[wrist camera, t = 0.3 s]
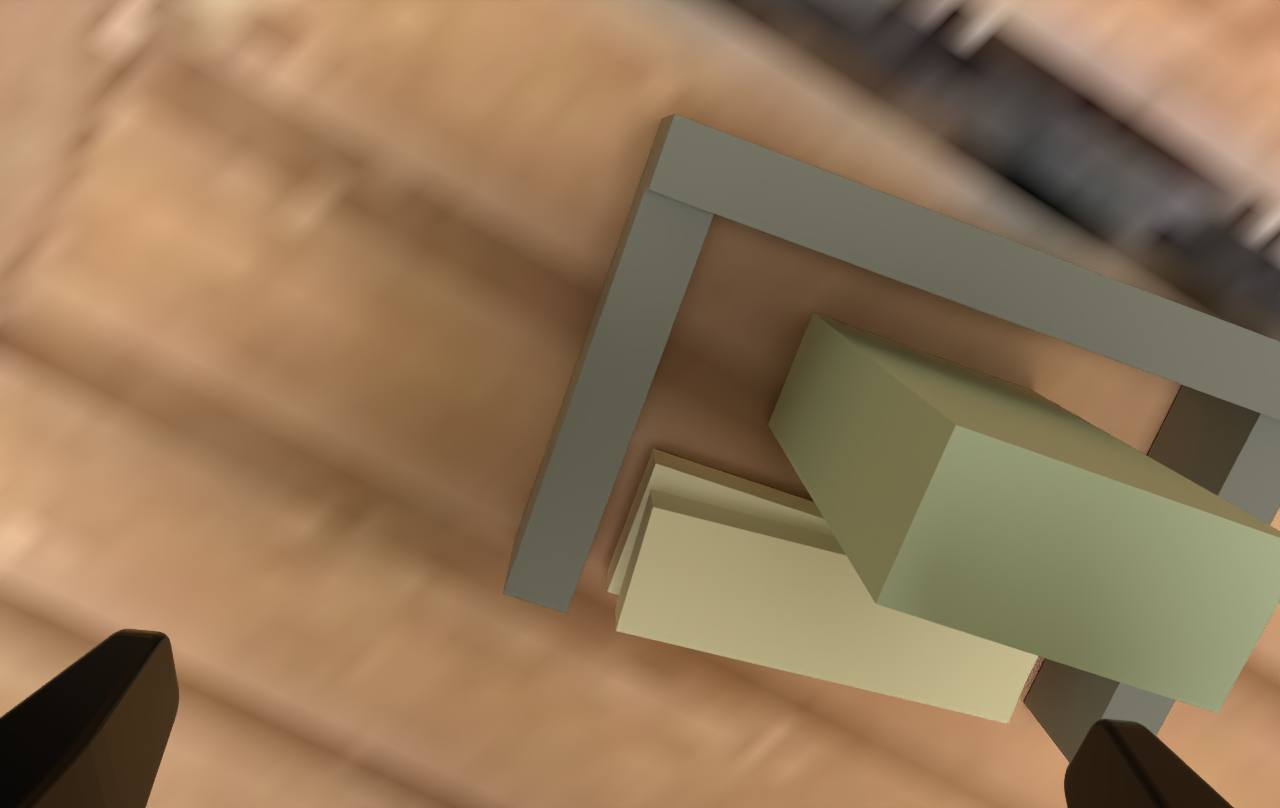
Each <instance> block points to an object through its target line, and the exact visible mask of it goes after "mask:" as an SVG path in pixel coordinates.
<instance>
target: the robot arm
mask: <svg viewBox="0 0 1280 808" xmlns="http://www.w3.org/2000/svg"><path fill="white" fill-rule="evenodd" d="M178 704H179V687H178V682H177V676H176V670H175V664H174V659H173V653H172V647H171V643H170V640H169V638H168V637H167V635H166V634H164V633H162V632H157V631H147V630H136V629H123V630H120V631H118V632H115V633H114V634H112V635H111V636H109V637H108V638H107V639H105V640H104V641H103V642H101V643H100V644H98V645H97V646H96V647H94V648H93V649H92V650H90V651H89V652H88V653H86V654H85V655H84V656H82V657H81V658H80V659H78V660H77V661H76V662H74V663H73V664H72V665H70V666H69V667H68V668H66V669H65V670H64V671H62V672H61V673H60V674H58V675H57V676H56V677H54V678H53V679H52V680H50V681H49V682H48V683H46V684H45V685H43V686H42V687H41V688H39V689H38V690H37V691H35V692H34V693H33V694H31V695H30V696H29V697H27V698H26V699H25V700H23V701H22V702H21V703H19V704H18V705H17V706H15V707H14V708H13V709H11V710H10V711H9V712H7V713H6V714H5V715H3V716H2V717H1V718H0V808H146V805H147V802H148V799H149V796H150V793H151V790H152V787H153V784H154V781H155V778H156V775H157V772H158V769H159V766H160V763H161V760H162V757H163V754H164V751H165V748H166V745H167V742H168V739H169V736H170V733H171V730H172V727H173V724H174V721H175V717H176V714H177V709H178ZM1064 791H1065V797H1066V802H1067V807H1068V808H1234V807H1232V806H1231V805H1230V804H1229V803H1228V802H1227V801H1226V800H1225V799H1224V798H1223V797H1222V796H1221V795H1219V794H1218V793H1217V792H1216V791H1215V790H1214V789H1213V788H1212V787H1211V786H1210V785H1209V784H1208V783H1206V782H1205V781H1204V780H1203V779H1202V778H1201V777H1200V776H1199V775H1198V774H1197V773H1196V772H1194V771H1193V770H1192V769H1191V768H1190V767H1189V766H1188V765H1187V764H1186V763H1185V762H1184V761H1183V760H1181V759H1180V758H1179V757H1178V756H1177V755H1176V754H1175V753H1174V752H1173V751H1172V750H1171V749H1170V748H1168V747H1167V746H1166V745H1165V744H1164V743H1163V742H1162V741H1161V740H1160V739H1159V738H1158V737H1157V736H1155V735H1154V734H1153V733H1152V732H1151V731H1150V730H1149V729H1148V728H1146V727H1145V726H1144V725H1142V724H1140V723H1138V722H1134V721H1127V720H1116V719H1105V718H1104V719H1099V720H1097V721H1096V722H1094V723H1093V724H1092V725H1091V727H1090V728H1089V730H1088V732H1087V734H1086V735H1085V737H1084V739H1083V741H1082V742H1081V744H1080V746H1079V748H1078V749H1077V751H1076V753H1075V755H1074V756H1073V758H1072V760H1071V762H1070V763H1069V765H1068V767H1067V770H1066V774H1065V779H1064Z"/></svg>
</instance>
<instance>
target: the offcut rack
mask: <svg viewBox="0 0 1280 808" xmlns="http://www.w3.org/2000/svg"><path fill="white" fill-rule="evenodd" d="M714 214H717V215H719V216H722V217H725V218H727V219H730V220H733V221H736V222H738V223H741V224H744V225H747V226H749V227H752V228H755V229H758V230H760V231H763V232H766V233H768V234H771V235H774V236H777V237H779V238H782V239H785V240H788V241H790V242H793V243H796V244H799V245H801V246H804V247H807V248H810V249H812V250H815V251H818V252H820V253H823V254H826V255H829V256H831V257H834V258H837V259H840V260H842V261H845V262H848V263H851V264H853V265H856V266H859V267H862V268H864V269H867V270H870V271H872V272H875V273H878V274H881V275H883V276H886V277H889V278H892V279H894V280H897V281H900V282H903V283H905V284H908V285H911V286H914V287H916V288H919V289H922V290H924V291H927V292H930V293H933V294H935V295H938V296H941V297H944V298H946V299H949V300H952V301H955V302H957V303H960V304H963V305H966V306H968V307H971V308H974V309H976V310H979V311H982V312H985V313H987V314H990V315H993V316H996V317H998V318H1001V319H1004V320H1007V321H1009V322H1012V323H1015V324H1017V325H1020V326H1023V327H1026V328H1028V329H1031V330H1034V331H1037V332H1039V333H1042V334H1045V335H1048V336H1050V337H1053V338H1056V339H1059V340H1061V341H1064V342H1067V343H1069V344H1072V345H1075V346H1078V347H1080V348H1083V349H1086V350H1089V351H1091V352H1094V353H1097V354H1100V355H1102V356H1105V357H1108V358H1111V359H1113V360H1116V361H1119V362H1121V363H1124V364H1127V365H1130V366H1132V367H1135V368H1138V369H1141V370H1143V371H1146V372H1149V373H1152V374H1154V375H1157V376H1160V377H1163V378H1165V379H1168V380H1171V381H1173V382H1176V383H1179V384H1182V387H1181V389H1180V391H1179V393H1178V395H1177V397H1176V399H1175V401H1174V403H1173V405H1172V407H1171V409H1170V411H1169V413H1168V415H1167V417H1166V419H1165V421H1164V423H1163V425H1162V427H1161V429H1160V431H1159V433H1158V435H1157V437H1156V439H1155V441H1154V443H1153V445H1152V447H1151V449H1150V451H1149V453H1148V455H1147V456H1148V457H1150V458H1152V459H1154V460H1155V461H1157V462H1159V463H1161V464H1162V465H1164V466H1166V467H1168V468H1169V469H1171V470H1173V471H1175V472H1176V473H1178V474H1180V475H1182V476H1183V477H1185V478H1187V479H1189V480H1190V481H1192V482H1194V483H1196V484H1197V485H1199V486H1201V487H1203V488H1205V489H1206V490H1208V491H1210V492H1212V493H1213V494H1215V495H1217V496H1219V497H1220V498H1222V499H1224V500H1226V501H1227V502H1229V503H1231V504H1233V505H1234V506H1236V507H1238V508H1240V509H1241V510H1243V511H1245V512H1247V513H1248V514H1250V515H1252V516H1254V517H1256V518H1257V519H1259V520H1261V521H1263V522H1264V523H1266V524H1268V525H1270V524H1271V522H1272V521H1273V519H1274V517H1275V515H1276V513H1277V511H1278V509H1279V508H1280V342H1279V341H1277V340H1274V339H1271V338H1269V337H1266V336H1264V335H1261V334H1258V333H1256V332H1253V331H1250V330H1248V329H1245V328H1242V327H1240V326H1237V325H1234V324H1232V323H1229V322H1226V321H1224V320H1221V319H1218V318H1216V317H1213V316H1210V315H1208V314H1205V313H1202V312H1200V311H1197V310H1194V309H1192V308H1189V307H1187V306H1184V305H1181V304H1179V303H1176V302H1173V301H1171V300H1168V299H1165V298H1163V297H1160V296H1157V295H1155V294H1152V293H1149V292H1147V291H1144V290H1141V289H1139V288H1136V287H1133V286H1131V285H1128V284H1125V283H1123V282H1120V281H1117V280H1115V279H1112V278H1110V277H1107V276H1104V275H1102V274H1099V273H1096V272H1094V271H1091V270H1088V269H1086V268H1083V267H1080V266H1078V265H1075V264H1072V263H1070V262H1067V261H1064V260H1062V259H1059V258H1056V257H1054V256H1051V255H1048V254H1046V253H1043V252H1040V251H1038V250H1035V249H1033V248H1030V247H1027V246H1025V245H1022V244H1019V243H1017V242H1014V241H1011V240H1009V239H1006V238H1003V237H1001V236H998V235H995V234H993V233H990V232H987V231H985V230H982V229H979V228H977V227H974V226H971V225H969V224H966V223H963V222H961V221H958V220H956V219H953V218H950V217H948V216H945V215H942V214H940V213H937V212H934V211H932V210H929V209H926V208H924V207H921V206H918V205H916V204H913V203H910V202H908V201H905V200H902V199H900V198H897V197H894V196H892V195H889V194H886V193H884V192H881V191H879V190H876V189H873V188H871V187H868V186H865V185H863V184H860V183H857V182H855V181H852V180H849V179H847V178H844V177H841V176H839V175H836V174H833V173H831V172H828V171H825V170H823V169H820V168H817V167H815V166H812V165H809V164H807V163H804V162H802V161H799V160H796V159H794V158H791V157H788V156H786V155H783V154H780V153H778V152H775V151H772V150H770V149H767V148H764V147H762V146H759V145H756V144H754V143H751V142H748V141H746V140H743V139H740V138H738V137H735V136H732V135H730V134H727V133H725V132H722V131H719V130H717V129H714V128H711V127H709V126H706V125H703V124H701V123H698V122H695V121H693V120H690V119H687V118H685V117H682V116H679V115H677V114H674V115H671V116H668V117H666V118H663V119H662V121H661V124H660V126H659V129H658V132H657V135H656V138H655V141H654V144H653V146H652V149H651V152H650V155H649V158H648V161H647V164H646V166H645V169H644V172H643V175H642V178H641V181H640V184H639V186H638V189H637V192H636V195H635V198H634V201H633V204H632V206H631V209H630V212H629V215H628V218H627V221H626V224H625V226H624V229H623V232H622V235H621V238H620V241H619V244H618V246H617V249H616V252H615V255H614V258H613V261H612V264H611V266H610V269H609V272H608V275H607V278H606V281H605V284H604V286H603V289H602V292H601V295H600V298H599V301H598V304H597V306H596V309H595V312H594V315H593V318H592V321H591V324H590V326H589V329H588V332H587V335H586V338H585V341H584V344H583V346H582V349H581V352H580V355H579V358H578V361H577V364H576V366H575V369H574V372H573V375H572V378H571V381H570V384H569V386H568V389H567V392H566V395H565V398H564V401H563V404H562V406H561V409H560V412H559V415H558V418H557V421H556V424H555V426H554V429H553V432H552V435H551V438H550V441H549V444H548V446H547V449H546V452H545V455H544V458H543V461H542V464H541V466H540V469H539V472H538V475H537V478H536V481H535V484H534V486H533V489H532V492H531V495H530V498H529V501H528V504H527V506H526V509H525V512H524V515H523V518H522V521H521V524H520V526H519V529H518V532H517V535H516V538H515V541H514V544H513V549H512V554H511V559H510V563H509V568H508V573H507V578H506V582H505V587H504V592H503V594H505V595H508V596H511V597H515V598H518V599H521V600H524V601H528V602H531V603H534V604H537V605H541V606H544V607H547V608H550V609H554V610H557V611H560V612H563V613H567V610H568V608H569V605H570V602H571V599H572V597H573V594H574V591H575V589H576V586H577V583H578V580H579V578H580V575H581V572H582V570H583V567H584V564H585V562H586V559H587V556H588V553H589V551H590V548H591V545H592V543H593V540H594V537H595V535H596V532H597V529H598V526H599V524H600V521H601V518H602V516H603V513H604V510H605V507H606V505H607V502H608V499H609V497H610V494H611V491H612V489H613V486H614V483H615V480H616V478H617V475H618V472H619V470H620V467H621V464H622V462H623V459H624V456H625V453H626V451H627V448H628V445H629V443H630V440H631V437H632V435H633V432H634V429H635V426H636V424H637V421H638V418H639V416H640V413H641V410H642V407H643V405H644V402H645V399H646V397H647V394H648V391H649V389H650V386H651V383H652V380H653V378H654V375H655V372H656V370H657V367H658V364H659V362H660V359H661V356H662V353H663V351H664V348H665V345H666V343H667V340H668V337H669V334H670V332H671V329H672V326H673V324H674V321H675V318H676V316H677V313H678V310H679V307H680V305H681V302H682V299H683V297H684V294H685V291H686V289H687V286H688V283H689V280H690V278H691V275H692V272H693V270H694V267H695V264H696V262H697V259H698V256H699V253H700V251H701V248H702V245H703V243H704V240H705V237H706V234H707V232H708V229H709V226H710V224H711V221H712V218H713V216H714ZM607 592H609V593H612V594H616V595H619V596H618V600H617V603H616V606H615V621H616V631H618V632H623V633H627V634H631V635H635V636H640V637H644V638H648V639H652V640H656V641H661V642H665V643H669V644H673V645H678V646H682V647H686V648H690V649H694V650H699V651H703V652H707V653H711V654H716V655H720V656H724V657H728V658H732V659H737V660H741V661H745V662H749V663H754V664H758V665H762V666H766V667H770V668H775V669H779V670H783V671H787V672H792V673H796V674H800V675H804V676H808V677H813V678H817V679H821V680H825V681H830V682H834V683H838V684H842V685H846V686H851V687H855V688H859V689H863V690H868V691H872V692H876V693H880V694H884V695H889V696H893V697H897V698H901V699H906V700H910V701H914V702H918V703H923V704H927V705H931V706H935V707H939V708H944V709H948V710H952V711H956V712H961V713H965V714H969V715H973V716H977V717H982V718H986V719H990V720H994V721H999V722H1003V723H1007V724H1008V723H1009V721H1010V718H1011V716H1012V714H1013V711H1014V709H1015V706H1016V704H1017V702H1018V699H1019V697H1020V694H1021V692H1022V690H1023V687H1024V685H1025V682H1026V680H1027V678H1028V676H1029V674H1030V672H1031V670H1032V668H1033V666H1034V664H1035V662H1036V660H1037V658H1038V656H1037V655H1034V654H1031V653H1028V652H1024V651H1021V650H1018V649H1015V648H1012V647H1009V646H1006V645H1003V644H999V643H996V642H993V641H990V640H987V639H984V638H981V637H978V636H975V635H971V634H968V633H965V632H962V631H959V630H956V629H953V628H950V627H946V626H943V625H940V624H937V623H934V622H931V621H928V620H925V619H922V618H918V617H915V616H912V615H909V614H906V613H903V612H900V611H897V610H893V609H890V608H887V607H884V606H881V605H878V604H875V602H874V600H873V599H872V597H871V595H870V594H869V592H868V590H867V589H866V587H865V585H864V584H863V582H862V580H861V579H860V577H859V575H858V574H857V572H856V570H855V569H854V567H853V566H852V564H851V562H850V561H849V559H848V557H847V556H846V554H845V552H844V551H843V549H842V547H841V546H840V544H839V542H838V541H837V539H836V537H835V536H834V534H833V532H832V531H831V529H830V527H829V526H828V524H827V522H826V521H825V519H824V517H823V516H822V514H821V512H820V511H819V509H818V508H817V506H816V504H815V503H814V502H813V501H810V500H807V499H804V498H801V497H798V496H795V495H792V494H789V493H786V492H783V491H780V490H777V489H773V488H770V487H767V486H764V485H761V484H758V483H755V482H752V481H749V480H746V479H743V478H740V477H737V476H734V475H731V474H728V473H725V472H722V471H719V470H716V469H713V468H710V467H707V466H704V465H701V464H698V463H695V462H692V461H689V460H686V459H683V458H680V457H677V456H674V455H671V454H668V453H665V452H662V451H659V450H656V449H653V450H652V453H651V456H650V458H649V461H648V464H647V466H646V469H645V472H644V474H643V477H642V480H641V482H640V485H639V487H638V490H637V493H636V495H635V498H634V501H633V503H632V506H631V509H630V511H629V514H628V517H627V519H626V522H625V525H624V527H623V530H622V533H621V535H620V538H619V541H618V543H617V546H616V549H615V551H614V554H613V557H612V559H611V562H610V565H609V567H608V570H607ZM1174 702H1175V700H1174V699H1171V698H1168V697H1165V696H1162V695H1158V694H1155V693H1152V692H1149V691H1146V690H1143V689H1140V688H1137V687H1133V686H1130V685H1127V684H1124V683H1121V682H1118V681H1115V680H1112V679H1109V678H1105V677H1102V676H1099V675H1096V674H1093V673H1090V672H1087V671H1084V670H1080V669H1077V668H1074V667H1071V666H1068V665H1065V664H1062V663H1059V662H1056V661H1052V660H1049V659H1045V661H1044V663H1043V665H1042V667H1041V669H1040V671H1039V673H1038V675H1037V677H1036V679H1035V681H1034V683H1033V685H1032V687H1031V689H1030V691H1029V693H1028V695H1027V697H1026V699H1025V701H1024V703H1025V705H1026V706H1027V707H1028V709H1029V710H1030V711H1031V713H1032V714H1033V715H1034V717H1035V718H1036V719H1037V721H1038V722H1039V723H1040V724H1041V726H1042V727H1043V728H1044V730H1045V731H1046V732H1047V734H1048V735H1049V736H1050V738H1051V739H1052V740H1053V742H1054V743H1055V744H1056V745H1057V747H1058V748H1059V749H1060V751H1061V752H1062V753H1063V755H1064V756H1065V757H1066V759H1067V760H1068V761H1069V763H1070V762H1071V760H1072V758H1073V756H1074V755H1075V753H1076V751H1077V749H1078V748H1079V746H1080V744H1081V742H1082V741H1083V739H1084V737H1085V735H1086V734H1087V732H1088V730H1089V728H1090V727H1091V725H1092V724H1093V723H1094V722H1096V721H1097V720H1099V719H1104V718H1105V719H1116V720H1127V721H1134V722H1138V723H1140V724H1142V725H1144V726H1145V727H1146V728H1148V729H1149V730H1150V731H1151V732H1152V733H1153V734H1154V735H1155V736H1156V735H1157V734H1158V732H1159V730H1160V728H1161V726H1162V724H1163V722H1164V721H1165V719H1166V717H1167V715H1168V713H1169V711H1170V709H1171V708H1172V706H1173V704H1174Z"/></svg>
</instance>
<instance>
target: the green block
mask: <svg viewBox="0 0 1280 808" xmlns="http://www.w3.org/2000/svg"><path fill="white" fill-rule="evenodd" d="M768 426H769V428H770V430H771V431H772V433H773V435H774V436H775V438H776V440H777V441H778V443H779V445H780V446H781V448H782V450H783V451H784V453H785V455H786V456H787V458H788V459H789V461H790V463H791V464H792V466H793V468H794V469H795V471H796V473H797V474H798V476H799V478H800V479H801V481H802V483H803V484H804V486H805V488H806V489H807V491H808V493H809V494H810V496H811V498H812V499H813V501H814V503H815V504H816V506H817V508H818V509H819V511H820V512H821V514H822V516H823V517H824V519H825V521H826V522H827V524H828V526H829V527H830V529H831V531H832V532H833V534H834V536H835V537H836V539H837V541H838V542H839V544H840V546H841V547H842V549H843V551H844V552H845V554H846V556H847V557H848V559H849V561H850V562H851V564H852V566H853V567H854V569H855V570H856V572H857V574H858V575H859V577H860V579H861V580H862V582H863V584H864V585H865V587H866V589H867V590H868V592H869V594H870V595H871V597H872V599H873V600H874V602H875V604H878V605H881V606H884V607H887V608H890V609H893V610H897V611H900V612H903V613H906V614H909V615H912V616H915V617H918V618H922V619H925V620H928V621H931V622H934V623H937V624H940V625H943V626H946V627H950V628H953V629H956V630H959V631H962V632H965V633H968V634H971V635H975V636H978V637H981V638H984V639H987V640H990V641H993V642H996V643H999V644H1003V645H1006V646H1009V647H1012V648H1015V649H1018V650H1021V651H1024V652H1028V653H1031V654H1034V655H1037V656H1040V657H1043V658H1046V659H1049V660H1052V661H1056V662H1059V663H1062V664H1065V665H1068V666H1071V667H1074V668H1077V669H1080V670H1084V671H1087V672H1090V673H1093V674H1096V675H1099V676H1102V677H1105V678H1109V679H1112V680H1115V681H1118V682H1121V683H1124V684H1127V685H1130V686H1133V687H1137V688H1140V689H1143V690H1146V691H1149V692H1152V693H1155V694H1158V695H1162V696H1165V697H1168V698H1171V699H1174V700H1177V701H1180V702H1183V703H1186V704H1190V705H1193V706H1196V707H1199V708H1202V709H1205V710H1208V711H1211V712H1215V713H1218V712H1219V710H1220V708H1221V707H1222V705H1223V703H1224V701H1225V699H1226V698H1227V696H1228V694H1229V692H1230V690H1231V689H1232V687H1233V685H1234V683H1235V681H1236V679H1237V678H1238V676H1239V674H1240V672H1241V670H1242V669H1243V667H1244V665H1245V663H1246V661H1247V660H1248V658H1249V656H1250V654H1251V652H1252V651H1253V649H1254V647H1255V645H1256V643H1257V642H1258V640H1259V638H1260V636H1261V634H1262V632H1263V631H1264V629H1265V627H1266V625H1267V623H1268V622H1269V620H1270V618H1271V616H1272V614H1273V613H1274V611H1275V609H1276V607H1277V605H1278V604H1279V602H1280V531H1278V530H1277V529H1275V528H1273V527H1271V526H1270V525H1268V524H1266V523H1264V522H1263V521H1261V520H1259V519H1257V518H1256V517H1254V516H1252V515H1250V514H1248V513H1247V512H1245V511H1243V510H1241V509H1240V508H1238V507H1236V506H1234V505H1233V504H1231V503H1229V502H1227V501H1226V500H1224V499H1222V498H1220V497H1219V496H1217V495H1215V494H1213V493H1212V492H1210V491H1208V490H1206V489H1205V488H1203V487H1201V486H1199V485H1197V484H1196V483H1194V482H1192V481H1190V480H1189V479H1187V478H1185V477H1183V476H1182V475H1180V474H1178V473H1176V472H1175V471H1173V470H1171V469H1169V468H1168V467H1166V466H1164V465H1162V464H1161V463H1159V462H1157V461H1155V460H1154V459H1152V458H1150V457H1148V456H1147V455H1145V454H1143V453H1141V452H1139V451H1138V450H1136V449H1134V448H1132V447H1131V446H1129V445H1127V444H1125V443H1124V442H1122V441H1120V440H1118V439H1117V438H1115V437H1113V436H1111V435H1110V434H1108V433H1106V432H1104V431H1103V430H1101V429H1099V428H1097V427H1096V426H1094V425H1092V424H1090V423H1088V422H1087V421H1085V420H1083V419H1081V418H1080V417H1078V416H1076V415H1074V414H1073V413H1071V412H1069V411H1067V410H1066V409H1064V408H1062V407H1060V406H1059V405H1057V404H1055V403H1053V402H1052V401H1050V400H1048V399H1046V398H1045V397H1043V396H1041V395H1039V394H1037V393H1036V392H1034V391H1031V390H1029V389H1026V388H1023V387H1020V386H1017V385H1015V384H1012V383H1009V382H1006V381H1003V380H1001V379H998V378H995V377H992V376H989V375H987V374H984V373H981V372H978V371H975V370H973V369H970V368H967V367H964V366H961V365H959V364H956V363H953V362H950V361H947V360H945V359H942V358H939V357H936V356H933V355H931V354H928V353H925V352H922V351H919V350H917V349H914V348H911V347H908V346H905V345H903V344H900V343H897V342H894V341H891V340H889V339H886V338H883V337H880V336H877V335H875V334H872V333H869V332H866V331H863V330H861V329H858V328H855V327H852V326H849V325H847V324H844V323H841V322H838V321H835V320H833V319H830V318H827V317H824V316H821V315H819V314H816V313H813V314H812V316H811V318H810V321H809V323H808V326H807V328H806V331H805V333H804V336H803V338H802V341H801V343H800V346H799V348H798V351H797V353H796V356H795V358H794V361H793V363H792V366H791V368H790V371H789V373H788V376H787V378H786V381H785V383H784V386H783V388H782V391H781V393H780V395H779V398H778V400H777V403H776V405H775V408H774V410H773V413H772V415H771V418H770V420H769V423H768Z"/></svg>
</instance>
